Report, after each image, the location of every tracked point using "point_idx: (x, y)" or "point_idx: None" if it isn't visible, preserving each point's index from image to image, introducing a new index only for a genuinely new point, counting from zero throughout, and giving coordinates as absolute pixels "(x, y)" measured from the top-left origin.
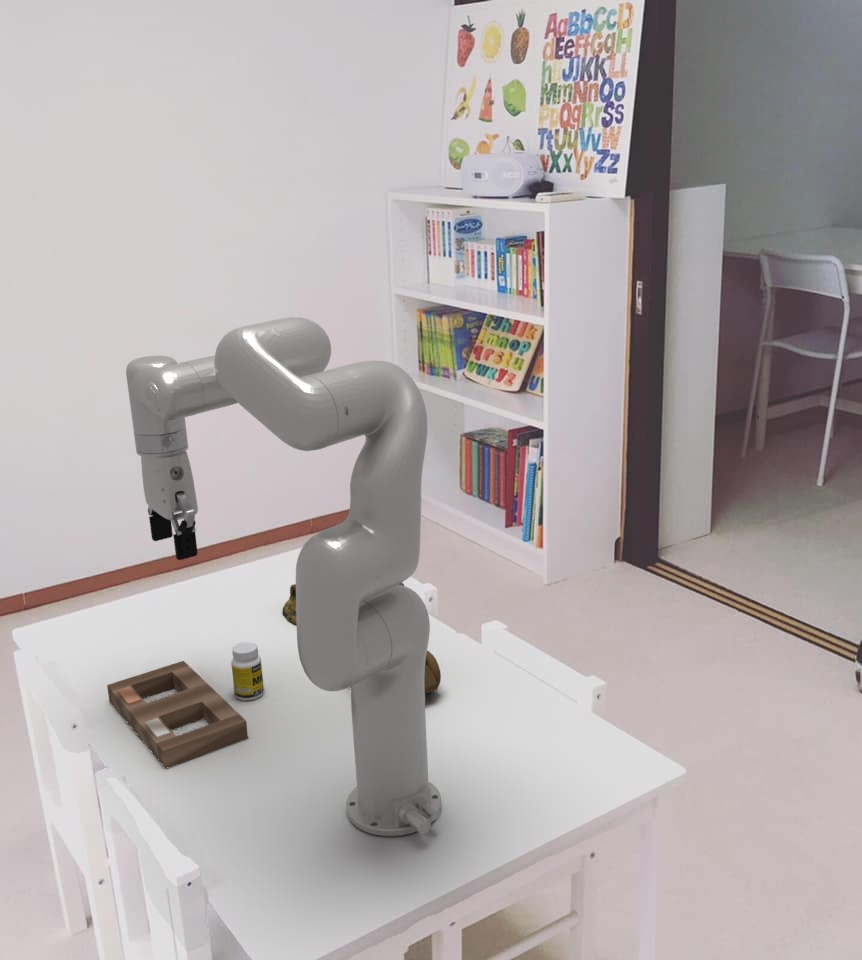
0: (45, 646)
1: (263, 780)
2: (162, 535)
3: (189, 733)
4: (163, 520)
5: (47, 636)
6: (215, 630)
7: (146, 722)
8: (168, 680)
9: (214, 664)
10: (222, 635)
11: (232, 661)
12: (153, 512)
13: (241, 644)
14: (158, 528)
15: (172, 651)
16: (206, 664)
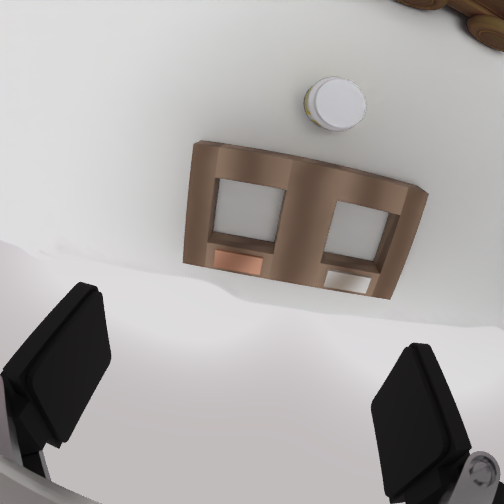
0: (25, 234)
1: (480, 231)
2: (97, 341)
3: (389, 260)
4: (59, 389)
5: (8, 221)
6: (106, 39)
7: (326, 285)
8: (216, 181)
9: (199, 87)
10: (126, 36)
11: (326, 126)
12: (41, 457)
13: (325, 99)
14: (83, 382)
15: (116, 117)
16: (189, 96)
